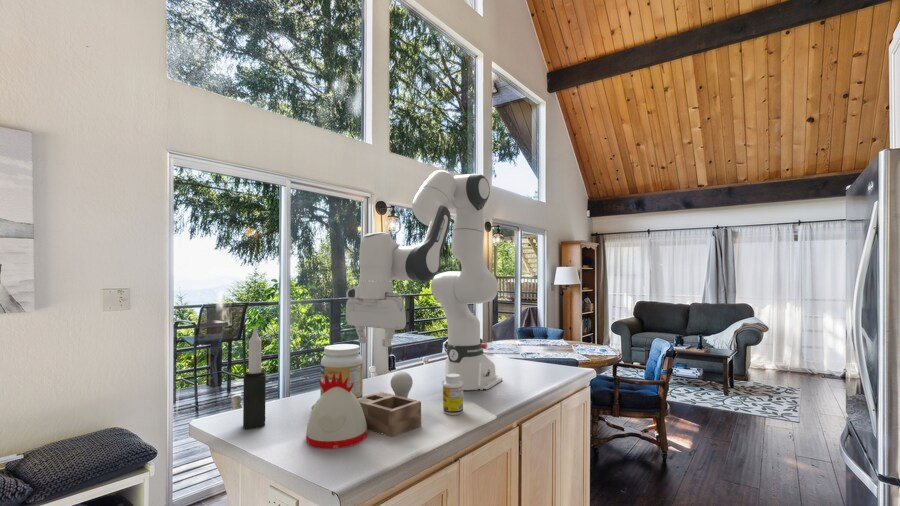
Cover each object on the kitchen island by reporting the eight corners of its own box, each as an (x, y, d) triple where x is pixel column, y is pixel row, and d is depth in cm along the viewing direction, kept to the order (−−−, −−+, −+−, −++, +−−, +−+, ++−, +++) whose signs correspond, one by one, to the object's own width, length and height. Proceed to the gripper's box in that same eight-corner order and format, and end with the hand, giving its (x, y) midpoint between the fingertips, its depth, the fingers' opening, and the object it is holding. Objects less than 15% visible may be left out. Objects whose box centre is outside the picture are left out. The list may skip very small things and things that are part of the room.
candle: (243, 423, 114) (244, 326, 115) (265, 420, 116) (265, 325, 117) (242, 430, 109) (244, 328, 110) (265, 427, 111) (266, 327, 112)
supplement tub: (311, 407, 127) (311, 348, 128) (339, 396, 138) (339, 342, 139) (343, 413, 122) (344, 351, 122) (371, 401, 133) (371, 344, 133)
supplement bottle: (442, 409, 124) (442, 372, 124) (462, 409, 124) (462, 372, 125) (443, 416, 118) (443, 377, 119) (463, 415, 119) (463, 377, 119)
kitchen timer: (314, 427, 110) (314, 367, 111) (369, 426, 111) (369, 366, 112) (299, 450, 97) (299, 381, 97) (362, 447, 98) (362, 379, 98)
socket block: (381, 413, 121) (380, 391, 121) (421, 425, 111) (421, 401, 112) (351, 423, 113) (351, 400, 113) (392, 437, 103) (392, 411, 104)
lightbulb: (409, 415, 119) (408, 374, 120) (387, 414, 120) (387, 373, 121) (415, 408, 125) (415, 369, 126) (394, 407, 126) (394, 368, 127)
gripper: (411, 292, 113) (411, 347, 112) (360, 291, 126) (359, 340, 125) (394, 293, 108) (393, 350, 107) (342, 291, 121) (341, 342, 120)
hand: (374, 344), depth 116 cm, fingers open, 8 cm apart
